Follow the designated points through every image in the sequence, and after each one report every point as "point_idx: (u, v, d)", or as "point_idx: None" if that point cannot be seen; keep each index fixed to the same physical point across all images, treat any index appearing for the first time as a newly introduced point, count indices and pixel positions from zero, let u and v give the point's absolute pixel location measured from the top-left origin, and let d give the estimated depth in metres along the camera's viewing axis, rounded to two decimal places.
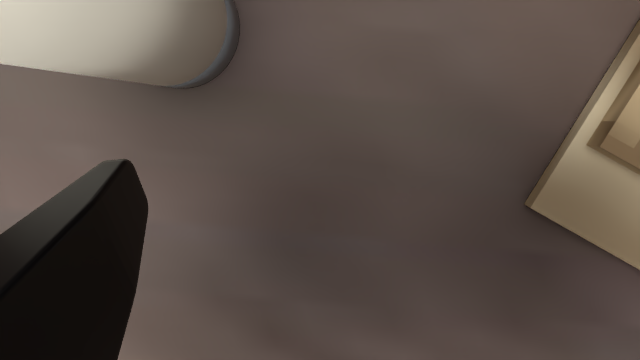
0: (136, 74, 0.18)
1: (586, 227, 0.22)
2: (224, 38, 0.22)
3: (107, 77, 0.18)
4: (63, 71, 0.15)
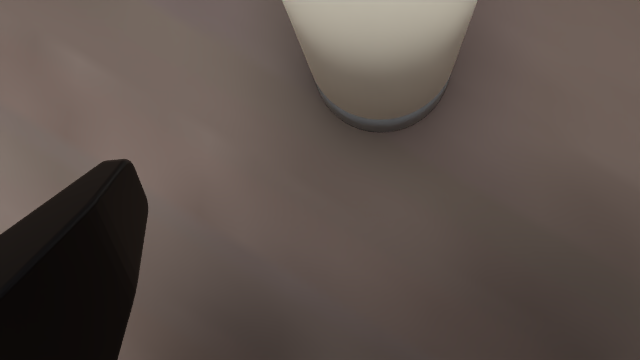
0: (367, 78, 0.15)
1: None
2: (437, 93, 0.19)
3: (338, 66, 0.14)
4: (326, 28, 0.12)
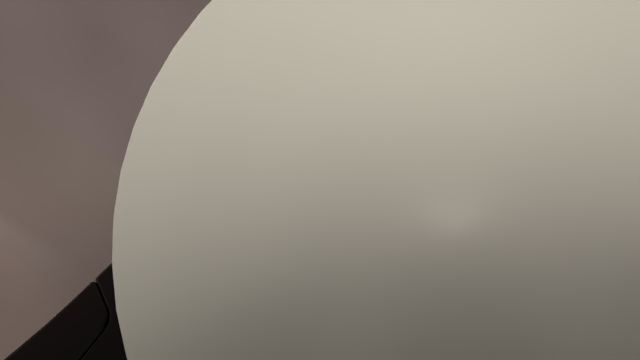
0: None
1: None
2: None
3: None
4: None
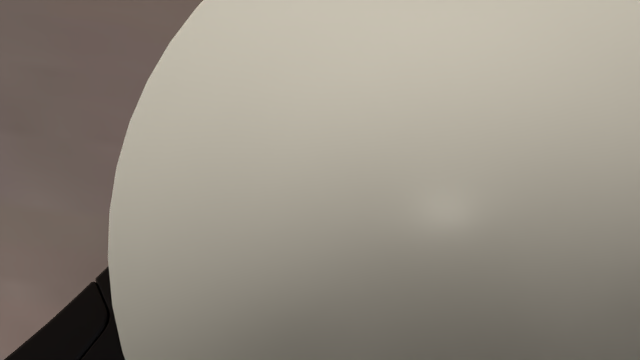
0: None
1: None
2: None
3: None
4: None
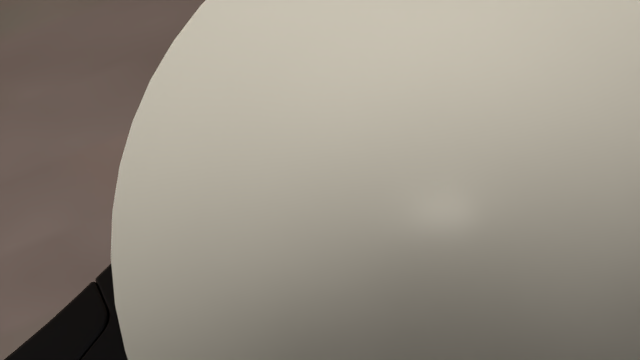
0: None
1: None
2: None
3: None
4: None
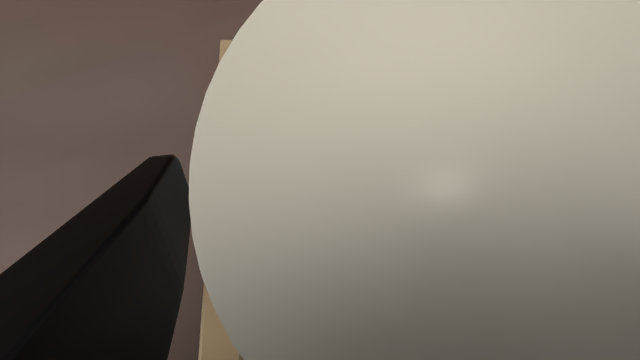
0: None
1: None
2: None
3: None
4: None
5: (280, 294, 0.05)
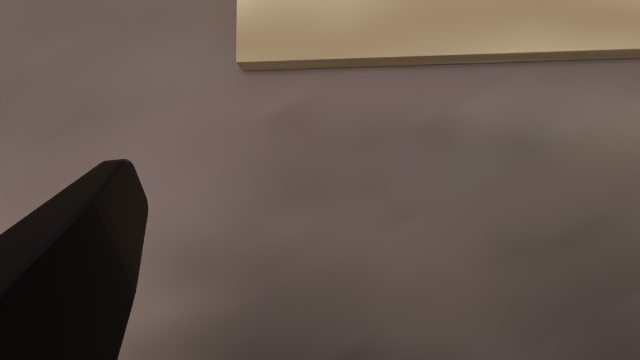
0: None
1: (298, 48, 0.20)
2: None
3: None
4: None
5: None
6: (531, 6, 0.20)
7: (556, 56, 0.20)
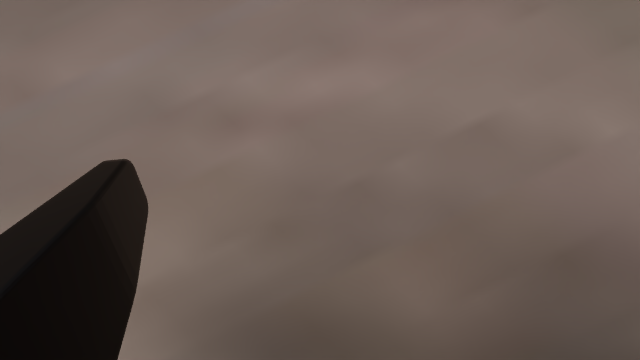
0: None
1: None
2: None
3: None
4: None
5: None
6: None
7: None
